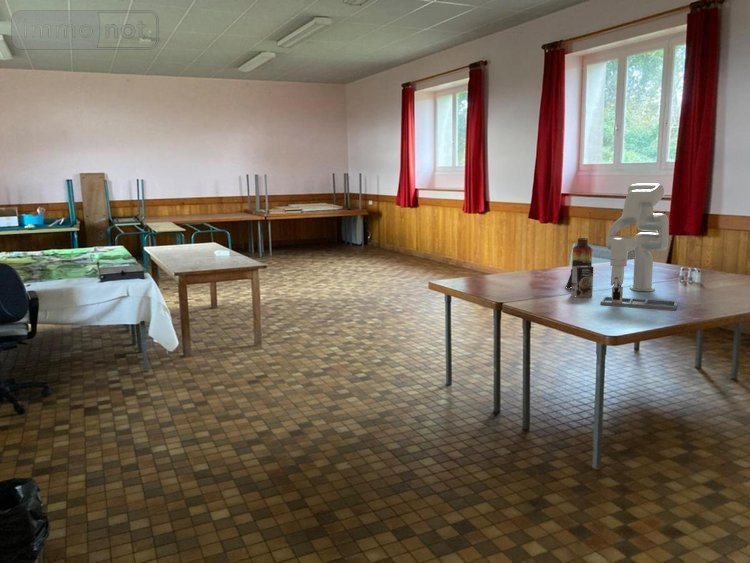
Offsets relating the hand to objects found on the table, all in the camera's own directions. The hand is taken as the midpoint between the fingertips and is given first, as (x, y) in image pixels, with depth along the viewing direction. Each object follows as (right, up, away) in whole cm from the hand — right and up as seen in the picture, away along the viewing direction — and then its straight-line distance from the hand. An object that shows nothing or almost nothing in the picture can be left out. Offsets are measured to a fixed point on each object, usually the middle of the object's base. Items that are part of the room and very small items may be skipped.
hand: (617, 298), depth 307 cm
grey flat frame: (+9, -3, -4) cm, 10 cm away
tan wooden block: (0, -2, 0) cm, 2 cm away
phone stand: (-8, +4, +40) cm, 41 cm away
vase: (+3, +8, +62) cm, 62 cm away
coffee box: (-11, 0, +20) cm, 23 cm away
